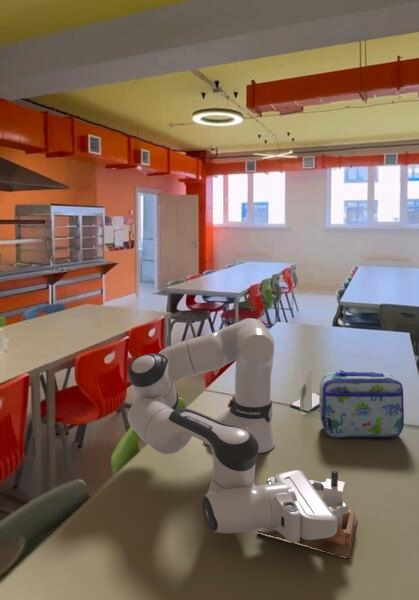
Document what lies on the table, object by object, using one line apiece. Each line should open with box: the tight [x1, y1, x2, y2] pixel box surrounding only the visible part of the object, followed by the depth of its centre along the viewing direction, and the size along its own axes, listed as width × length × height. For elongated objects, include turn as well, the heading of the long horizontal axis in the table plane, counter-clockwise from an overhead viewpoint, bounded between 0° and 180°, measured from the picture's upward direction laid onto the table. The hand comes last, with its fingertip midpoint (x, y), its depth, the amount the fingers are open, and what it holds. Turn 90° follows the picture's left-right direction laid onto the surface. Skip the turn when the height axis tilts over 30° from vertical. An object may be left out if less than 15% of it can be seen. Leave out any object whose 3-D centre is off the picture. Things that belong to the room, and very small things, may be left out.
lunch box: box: [318, 369, 405, 439], centre depth 153 cm, size 26×11×21 cm, turn 84°
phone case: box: [290, 392, 320, 412], centre depth 180 cm, size 9×2×16 cm
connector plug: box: [322, 470, 346, 529], centre depth 105 cm, size 4×4×14 cm
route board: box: [257, 509, 358, 559], centre depth 108 cm, size 20×14×4 cm
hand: (337, 496), depth 105 cm, fingers open, 7 cm apart
